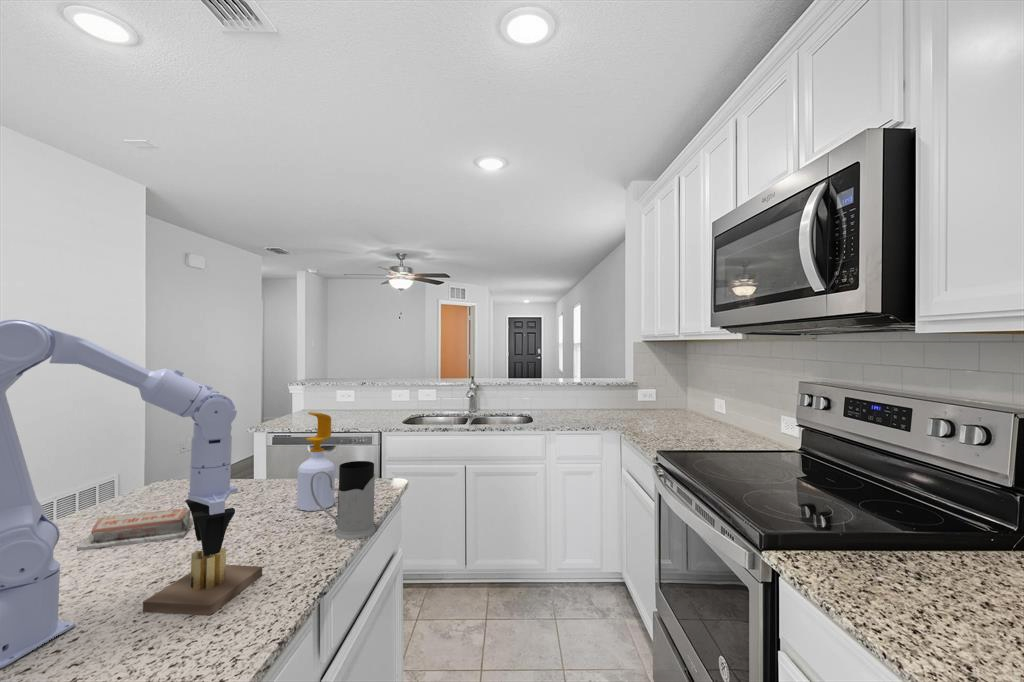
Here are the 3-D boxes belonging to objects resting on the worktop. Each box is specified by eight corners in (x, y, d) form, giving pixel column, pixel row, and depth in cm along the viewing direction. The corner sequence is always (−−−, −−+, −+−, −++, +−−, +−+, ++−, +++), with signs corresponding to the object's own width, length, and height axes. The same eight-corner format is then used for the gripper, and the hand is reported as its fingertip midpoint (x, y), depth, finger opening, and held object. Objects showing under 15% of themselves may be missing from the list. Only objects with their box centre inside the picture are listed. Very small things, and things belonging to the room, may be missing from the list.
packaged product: (194, 503, 109) (184, 517, 100) (193, 524, 109) (183, 540, 100) (96, 513, 102) (76, 529, 93) (95, 535, 102) (75, 554, 93)
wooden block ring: (227, 583, 78) (228, 553, 78) (194, 592, 75) (195, 561, 75) (221, 572, 81) (222, 543, 82) (189, 581, 78) (190, 551, 78)
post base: (210, 615, 71) (211, 581, 71) (142, 611, 72) (143, 578, 72) (262, 575, 84) (262, 546, 84) (204, 572, 85) (204, 544, 85)
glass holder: (372, 538, 101) (374, 468, 102) (303, 541, 99) (305, 470, 100) (378, 523, 110) (379, 459, 110) (314, 526, 108) (316, 461, 108)
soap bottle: (288, 509, 119) (291, 413, 120) (313, 499, 128) (315, 409, 128) (317, 513, 116) (320, 414, 117) (341, 502, 125) (343, 410, 126)
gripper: (247, 469, 76) (244, 554, 75) (229, 454, 87) (227, 528, 86) (195, 476, 71) (192, 566, 71) (183, 459, 82) (180, 537, 82)
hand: (208, 546), depth 78 cm, fingers open, 7 cm apart
